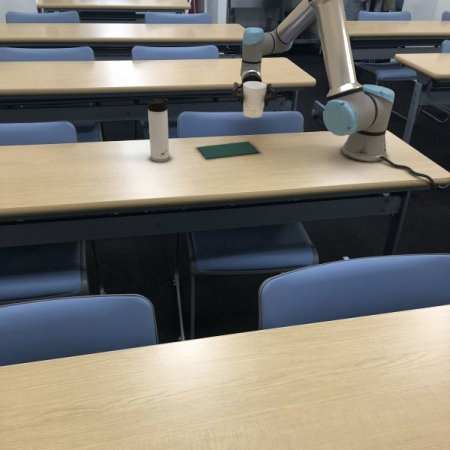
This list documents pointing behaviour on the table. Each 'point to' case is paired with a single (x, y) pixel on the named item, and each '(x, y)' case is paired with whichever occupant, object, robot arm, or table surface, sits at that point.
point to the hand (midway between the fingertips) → (254, 101)
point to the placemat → (227, 150)
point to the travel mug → (158, 129)
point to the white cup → (253, 99)
